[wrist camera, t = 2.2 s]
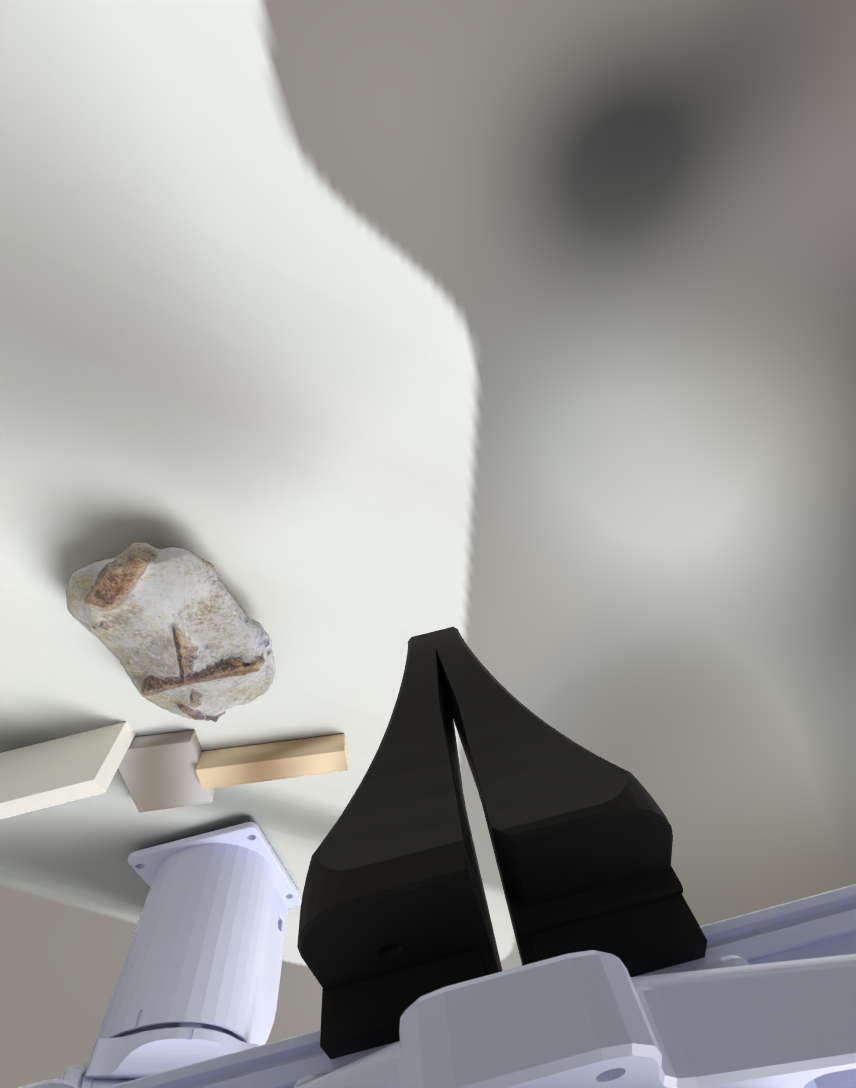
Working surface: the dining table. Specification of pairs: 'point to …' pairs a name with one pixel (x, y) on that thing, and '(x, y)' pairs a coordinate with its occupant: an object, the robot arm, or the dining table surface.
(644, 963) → the robot arm
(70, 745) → the bin
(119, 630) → the stone
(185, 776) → the scoop
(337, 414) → the dining table surface
